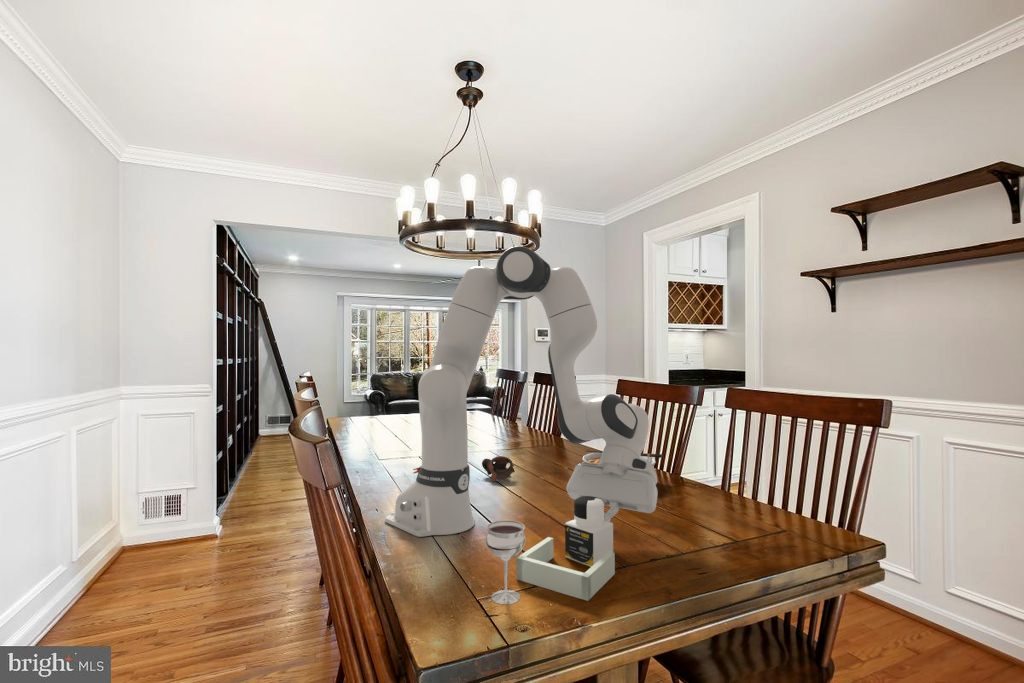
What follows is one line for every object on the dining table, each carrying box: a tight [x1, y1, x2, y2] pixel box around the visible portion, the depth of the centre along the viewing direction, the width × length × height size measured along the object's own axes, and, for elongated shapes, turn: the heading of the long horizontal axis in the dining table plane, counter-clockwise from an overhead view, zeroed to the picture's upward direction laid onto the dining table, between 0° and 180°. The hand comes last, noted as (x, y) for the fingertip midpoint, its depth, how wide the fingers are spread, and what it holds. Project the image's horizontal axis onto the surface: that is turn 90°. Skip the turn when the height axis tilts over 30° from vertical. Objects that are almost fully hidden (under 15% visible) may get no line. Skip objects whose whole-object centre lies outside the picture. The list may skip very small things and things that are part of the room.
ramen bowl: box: [582, 450, 663, 468], centre depth 158 cm, size 25×23×8 cm
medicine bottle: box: [564, 496, 614, 568], centre depth 102 cm, size 7×7×12 cm
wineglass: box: [485, 519, 526, 605], centre depth 86 cm, size 7×7×12 cm
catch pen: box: [515, 536, 616, 602], centre depth 94 cm, size 14×12×4 cm
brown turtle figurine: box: [481, 455, 516, 483], centre depth 163 cm, size 12×10×8 cm
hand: (601, 521), depth 108 cm, fingers closed
